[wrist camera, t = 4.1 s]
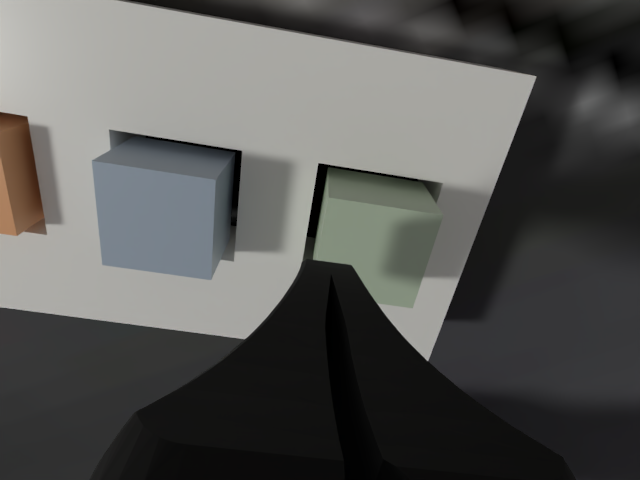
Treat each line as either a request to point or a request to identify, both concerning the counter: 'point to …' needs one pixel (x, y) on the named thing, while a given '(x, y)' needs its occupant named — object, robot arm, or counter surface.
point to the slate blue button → (164, 206)
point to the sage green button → (378, 231)
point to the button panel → (239, 134)
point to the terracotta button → (17, 177)
